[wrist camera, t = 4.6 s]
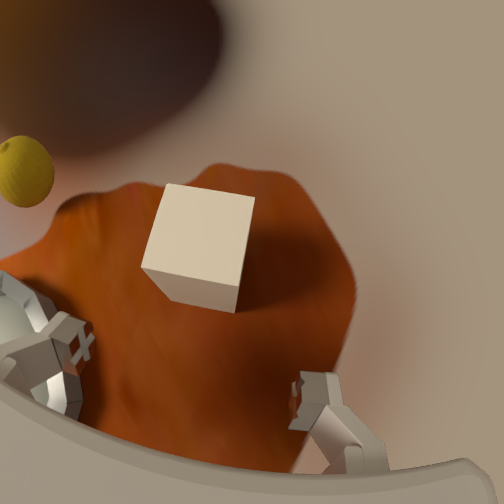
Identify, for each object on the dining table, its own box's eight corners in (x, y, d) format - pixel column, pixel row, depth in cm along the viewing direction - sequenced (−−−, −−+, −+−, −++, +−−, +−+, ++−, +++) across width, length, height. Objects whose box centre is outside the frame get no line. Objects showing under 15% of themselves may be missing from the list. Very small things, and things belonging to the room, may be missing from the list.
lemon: (46, 164, 24) (10, 113, 16) (77, 182, 23) (40, 125, 16) (14, 208, 22) (-31, 164, 15) (43, 231, 22) (-8, 185, 14)
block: (234, 313, 21) (238, 286, 13) (171, 300, 21) (140, 267, 13) (245, 252, 22) (255, 197, 15) (185, 241, 22) (167, 183, 15)
